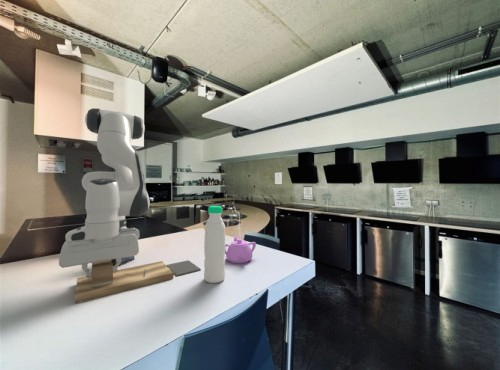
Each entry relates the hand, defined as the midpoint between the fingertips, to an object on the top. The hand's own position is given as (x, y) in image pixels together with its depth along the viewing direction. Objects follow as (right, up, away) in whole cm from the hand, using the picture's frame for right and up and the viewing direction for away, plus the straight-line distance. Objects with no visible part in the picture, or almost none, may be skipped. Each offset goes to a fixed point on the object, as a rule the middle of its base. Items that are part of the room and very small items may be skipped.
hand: (102, 274), depth 66 cm
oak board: (+5, -4, +4) cm, 8 cm away
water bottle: (+34, -4, +6) cm, 35 cm away
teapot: (+42, -5, +26) cm, 49 cm away
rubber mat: (+21, -4, +16) cm, 26 cm away
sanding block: (0, -2, 0) cm, 2 cm away
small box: (-7, -4, +21) cm, 22 cm away
